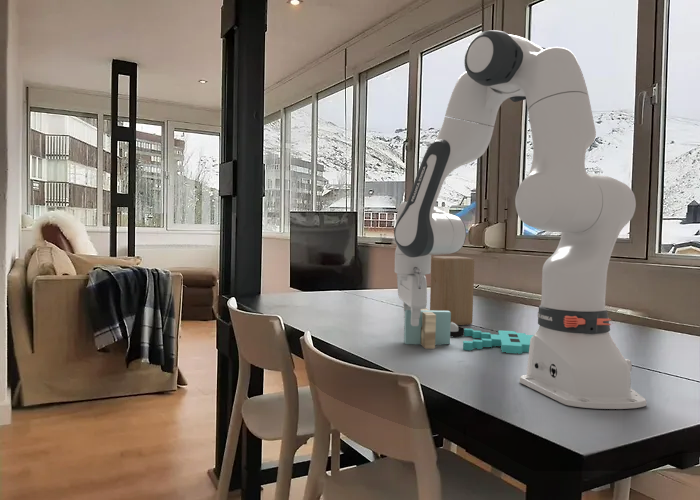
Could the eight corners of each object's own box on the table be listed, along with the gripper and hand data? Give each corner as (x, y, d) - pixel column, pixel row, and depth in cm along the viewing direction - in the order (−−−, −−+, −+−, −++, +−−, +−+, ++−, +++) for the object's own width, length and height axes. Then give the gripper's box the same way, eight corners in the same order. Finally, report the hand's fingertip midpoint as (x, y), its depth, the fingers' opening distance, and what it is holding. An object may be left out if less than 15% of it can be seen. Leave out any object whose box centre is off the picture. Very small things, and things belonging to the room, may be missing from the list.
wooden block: (428, 320, 176) (430, 256, 176) (457, 320, 179) (459, 256, 179) (443, 326, 167) (445, 257, 166) (473, 325, 170) (475, 258, 169)
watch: (466, 336, 153) (467, 322, 153) (460, 339, 149) (460, 325, 149) (440, 333, 157) (440, 319, 157) (432, 335, 153) (433, 321, 153)
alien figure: (462, 351, 135) (552, 357, 131) (463, 342, 135) (552, 348, 131) (464, 336, 154) (541, 341, 150) (464, 328, 154) (542, 332, 150)
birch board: (435, 348, 135) (436, 314, 135) (425, 348, 135) (425, 314, 135) (424, 338, 147) (425, 307, 147) (415, 338, 147) (416, 307, 147)
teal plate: (449, 344, 141) (450, 312, 140) (405, 344, 140) (406, 311, 140) (447, 342, 143) (448, 310, 143) (403, 342, 142) (404, 310, 142)
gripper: (434, 269, 130) (432, 330, 131) (417, 263, 150) (416, 316, 151) (406, 269, 130) (405, 329, 130) (393, 263, 150) (392, 315, 151)
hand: (411, 322), depth 141 cm, fingers open, 8 cm apart
